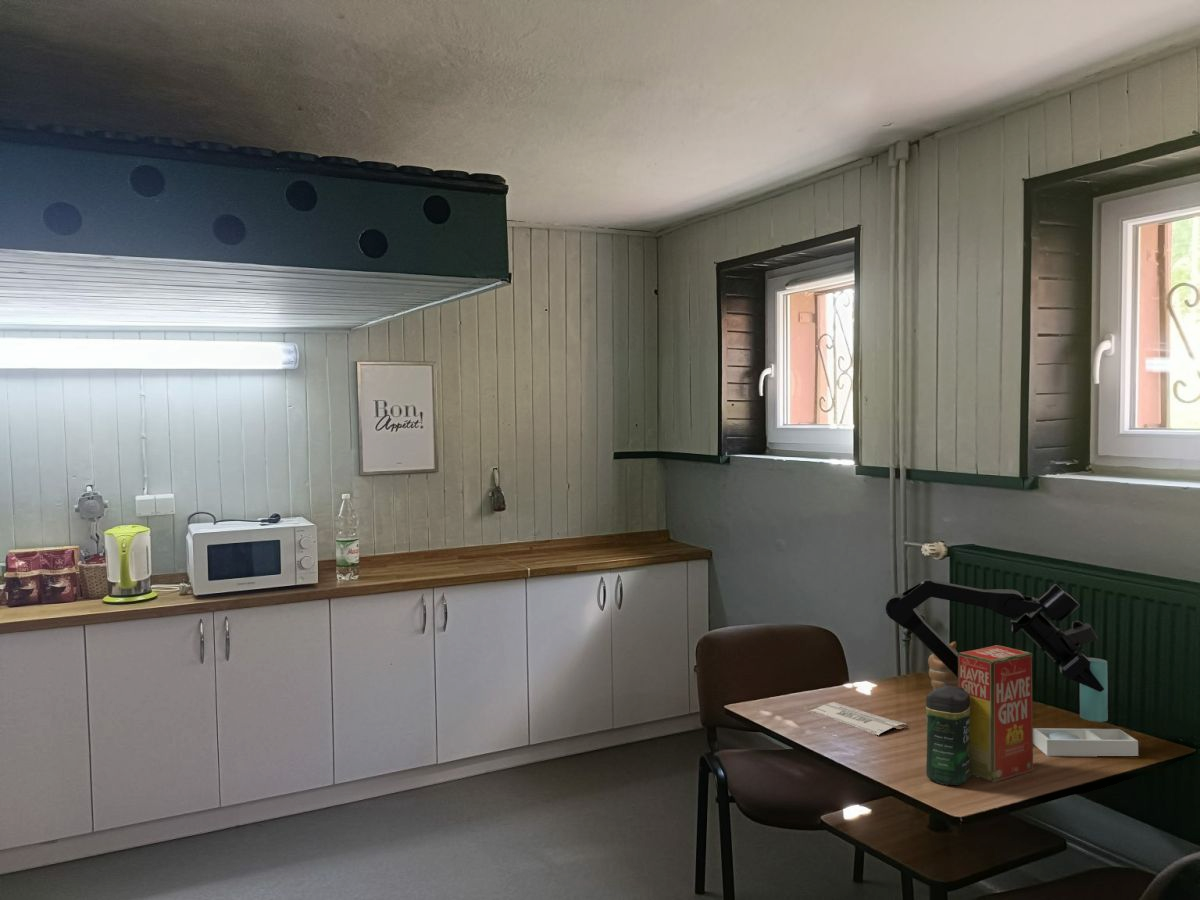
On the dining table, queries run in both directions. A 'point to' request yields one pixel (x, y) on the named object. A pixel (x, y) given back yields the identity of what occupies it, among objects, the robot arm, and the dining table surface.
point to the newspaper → (857, 718)
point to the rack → (1084, 742)
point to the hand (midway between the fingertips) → (1100, 687)
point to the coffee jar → (948, 735)
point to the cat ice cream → (941, 671)
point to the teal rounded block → (1095, 694)
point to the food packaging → (999, 710)
